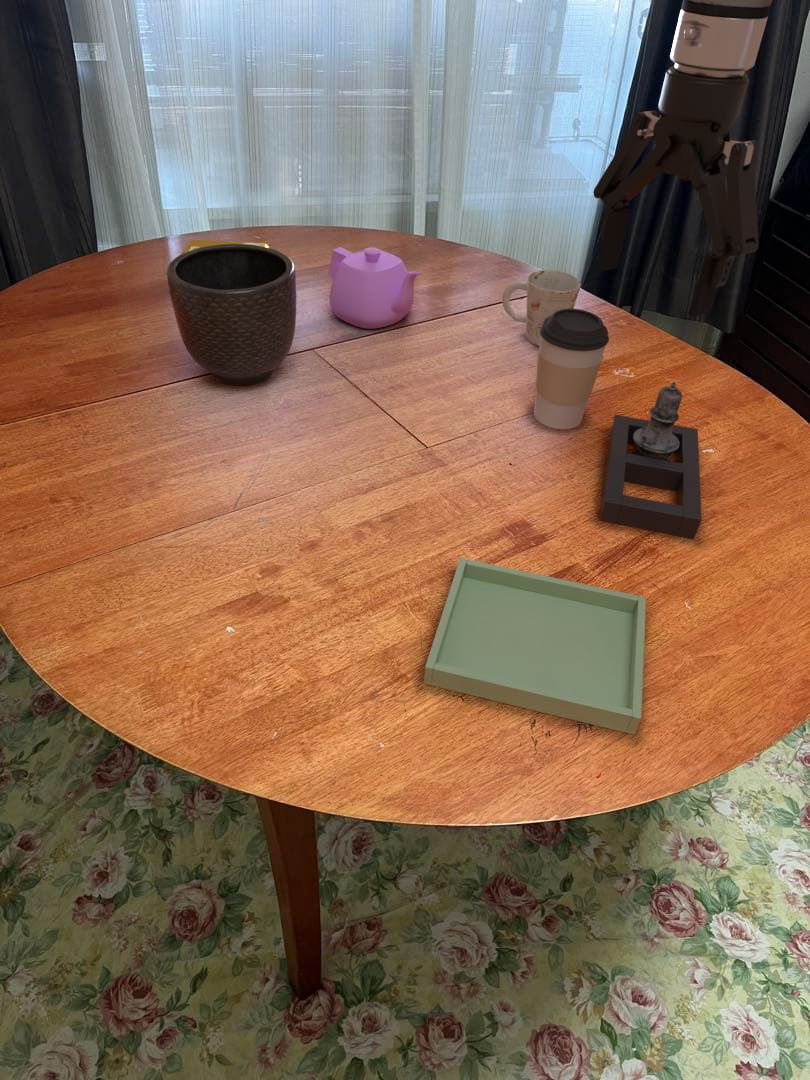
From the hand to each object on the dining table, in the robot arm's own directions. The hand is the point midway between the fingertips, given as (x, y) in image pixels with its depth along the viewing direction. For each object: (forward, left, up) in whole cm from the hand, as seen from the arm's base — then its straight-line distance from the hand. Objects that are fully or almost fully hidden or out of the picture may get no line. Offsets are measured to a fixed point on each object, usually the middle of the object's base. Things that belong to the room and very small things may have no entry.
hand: (650, 290), depth 85 cm
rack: (-6, +2, -24) cm, 24 cm away
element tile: (+71, -37, -24) cm, 84 cm away
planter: (+54, -7, -24) cm, 60 cm away
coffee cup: (+7, -10, -24) cm, 27 cm away
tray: (+4, +34, -24) cm, 42 cm away
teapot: (+41, -32, -24) cm, 57 cm away
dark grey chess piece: (-6, -2, -24) cm, 24 cm away
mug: (+14, -34, -24) cm, 44 cm away
